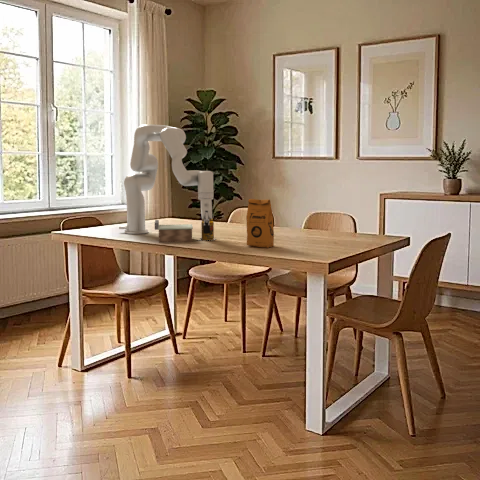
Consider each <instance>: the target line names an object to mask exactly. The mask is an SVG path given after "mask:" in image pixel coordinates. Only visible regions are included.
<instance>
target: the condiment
mask: <svg viewBox="0 0 480 480" xmlns="http://www.w3.org/2000/svg"><path fill="white" fill-rule="evenodd" d="M213 217H214V216H213V215H212V219H210V218H209V225H210V234H204V233H203V225H204V220H203V219H202V218H201V223H200V224H201V227H200V228H201V237H200V238H199V239H202V240H207V241H206V242H213V241H215V240H216V238H215V236H214V235H215V234H214V233H215V232H214V231H215V228H214V227H215V226H214V219H213ZM204 219H205V218H204ZM202 240H201V241H202ZM208 240H209V241H208ZM210 240H211V241H210Z"/></svg>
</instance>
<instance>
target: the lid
mask: <svg viewBox="0 0 480 480" xmlns="http://www.w3.org/2000/svg"><path fill="white" fill-rule="evenodd" d="M159 223H160V220H159V219H155V221H154V230H157V231H159V230H167V229H192V230H193V224H189V223H188V224H159Z"/></svg>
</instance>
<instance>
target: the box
mask: <svg viewBox="0 0 480 480" xmlns="http://www.w3.org/2000/svg"><path fill="white" fill-rule="evenodd" d="M192 242H193V229H167V230H158V243H192Z"/></svg>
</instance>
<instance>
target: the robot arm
mask: <svg viewBox="0 0 480 480" xmlns="http://www.w3.org/2000/svg"><path fill="white" fill-rule="evenodd" d="M186 139H187V135H186V133H185V131H184V130H183V129H181V128H179V127H173V126H170V125H164V124H141V125H139V126H137V128H136V129H135V131H134V136H133V147H132V152H131V157H130V164H129V165H130V168H131V170H132V171H133V172H137V173H130V174H127V176H125V178H124V180H123V186H124V190H125V195H126V196H125V198H126V224H124V225H118V229H119V230H124V234H126V235H128V234H129V235H140V234H141V235H142V234H147V233H149V230H148V229H146V204H145V196H144V194H143V192H147V191H151V190H152V189H154V186H155V182H156V178H157V174H158V173H157V172H158V169H159V168H158V167H159V162H158V157H156V155H155V154H152V153H150V148H151V147H150V143H149V142H161V143H162V144H163V146H164V148H165V149H166V151H167V152H168V154H169V156H170V158H171V169H172V170H171V171H172V173H173V175H174V176H175V179H176V180H177V181H178V183H179V184H180V185H182V187H183V186H184V187H191V186H192V187H194V186H197V196H198V197H197V199H198V200H200V214H201V220H202V219H203V220H204V225H203V233H204V234H210V225H209V218H210V219H212V216H213V206H212V205H213V202H212V200H214V173H213V171H211V170H197V169H196V170H195V169H194V170H191V169H190V170H187V168H186V167H185V165H184V163H183V159H184V158H185V157H186V156H187V154H188V150H187V148H186V146H185V145H184V144H185V142H186ZM204 218H205V219H204Z"/></svg>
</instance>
